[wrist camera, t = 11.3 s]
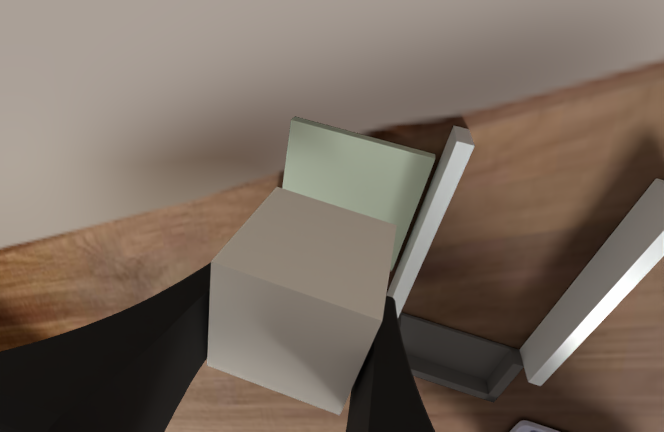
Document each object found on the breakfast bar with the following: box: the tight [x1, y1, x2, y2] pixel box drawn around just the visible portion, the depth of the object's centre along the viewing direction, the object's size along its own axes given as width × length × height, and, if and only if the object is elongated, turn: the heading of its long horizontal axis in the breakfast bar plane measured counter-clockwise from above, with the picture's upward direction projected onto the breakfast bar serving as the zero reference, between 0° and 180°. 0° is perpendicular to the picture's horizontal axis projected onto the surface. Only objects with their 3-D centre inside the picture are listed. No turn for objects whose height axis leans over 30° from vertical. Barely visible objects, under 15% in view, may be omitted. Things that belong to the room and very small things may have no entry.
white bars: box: [386, 125, 664, 386], centre depth 17 cm, size 9×12×2 cm
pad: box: [282, 117, 435, 271], centre depth 18 cm, size 7×7×1 cm
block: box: [207, 187, 397, 415], centre depth 12 cm, size 4×4×4 cm
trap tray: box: [398, 312, 524, 403], centre depth 22 cm, size 8×4×1 cm, turn 79°
